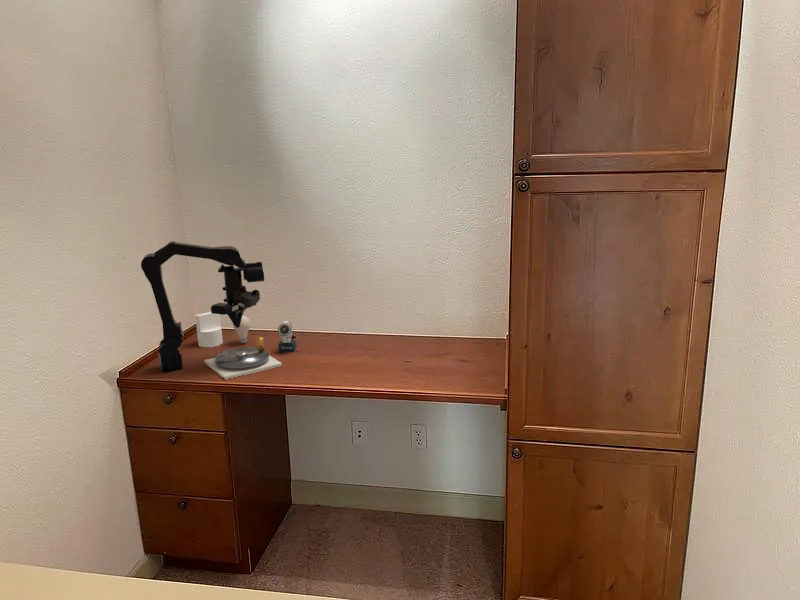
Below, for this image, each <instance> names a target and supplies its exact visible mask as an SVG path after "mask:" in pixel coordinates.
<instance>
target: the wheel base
mask: <svg viewBox="0 0 800 600" xmlns="http://www.w3.org/2000/svg"><path fill="white" fill-rule="evenodd" d="M204 364H206V366H208V367H209V368H211V370H213V371H214V372H215V373H216V372H217V373H218V374H217V373H216V374H217V375H218V376H220V377H221V378H222V379H223V378H224V379H223V380H225V379H226V380H230V379H229V378H231V379H234V377H235V378H238V376H239V377H243V376H246V375H251V374H255V373H259V372H263V371H267V370H271V369H275V368H280V367H282V366H283V364H282V362H281V361H279V360H277V359H276V358H274V356H273V357H272V356H271V355H270V354H269V359H268V360H267V361H266V362H265V363H263V364H260V365H257V366H254V367H250V368H243V369H227V368H222V367H219V366H217V365H216V363H215V357H214V358H213V357H211V358H207V359H204ZM242 375H243V376H242Z"/></svg>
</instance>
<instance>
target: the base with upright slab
mask: <svg viewBox="0 0 800 600" xmlns="http://www.w3.org/2000/svg"><path fill="white" fill-rule="evenodd" d="M194 317H195V325H196V326H195V327H196V335H197V343H198V346H199V347H200V348H213V347H214V346H215V347H217V346H221V345H222V344H223V343H224V341H223V332H222V331H223V330H222V323H221V314H213V313H211V311H207V312H203V313H198V314H195V315H194ZM220 344H221V345H220Z"/></svg>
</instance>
